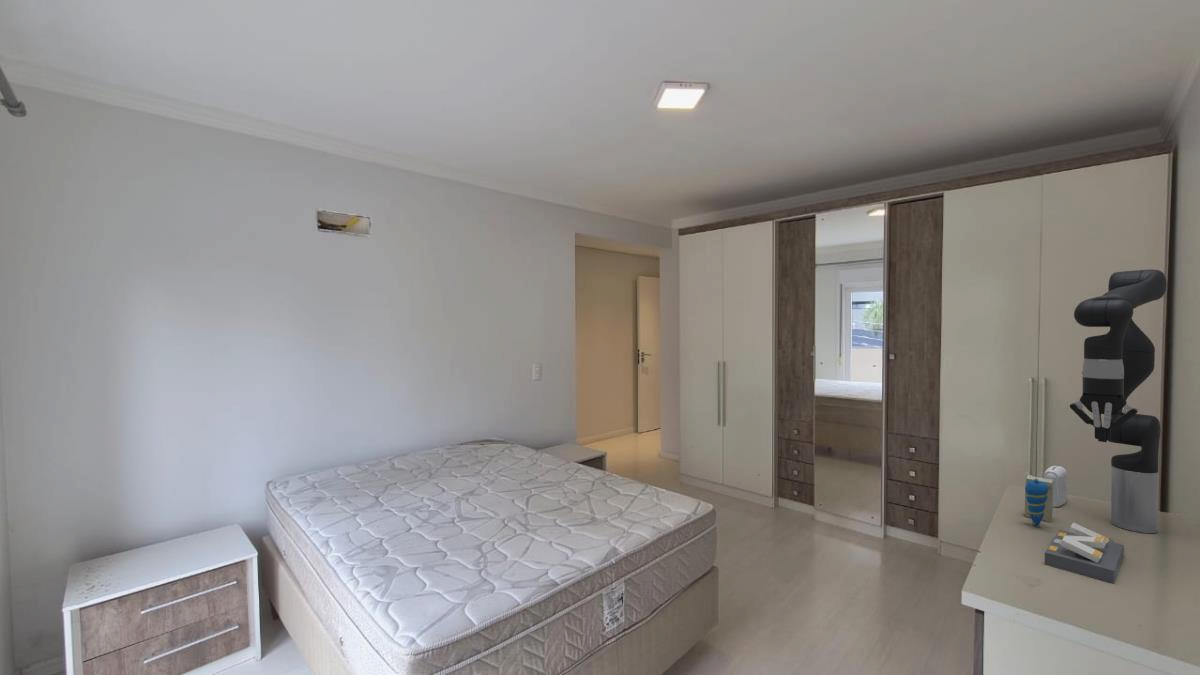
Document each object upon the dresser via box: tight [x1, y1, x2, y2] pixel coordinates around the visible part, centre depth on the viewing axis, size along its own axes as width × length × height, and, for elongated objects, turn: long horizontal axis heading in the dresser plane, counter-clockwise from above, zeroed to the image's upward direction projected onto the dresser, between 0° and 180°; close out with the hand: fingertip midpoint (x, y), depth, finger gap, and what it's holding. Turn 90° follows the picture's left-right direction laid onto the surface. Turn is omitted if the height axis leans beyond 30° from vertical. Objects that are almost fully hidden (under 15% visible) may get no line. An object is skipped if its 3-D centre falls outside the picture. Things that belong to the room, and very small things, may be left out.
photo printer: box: [1043, 465, 1068, 508], centre depth 160 cm, size 10×4×12 cm, turn 123°
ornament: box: [1024, 476, 1049, 528], centre depth 142 cm, size 5×5×15 cm
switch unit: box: [1044, 529, 1125, 584], centre depth 123 cm, size 20×12×4 cm, turn 128°
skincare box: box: [1024, 475, 1054, 523], centre depth 149 cm, size 6×4×12 cm
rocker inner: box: [1068, 522, 1110, 548], centre depth 126 cm, size 4×7×2 cm, turn 38°
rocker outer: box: [1060, 536, 1102, 563], centre depth 119 cm, size 4×7×2 cm, turn 38°
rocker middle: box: [1067, 535, 1106, 548], centre depth 122 cm, size 4×7×2 cm, turn 38°
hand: (1102, 441), depth 127 cm, fingers closed
